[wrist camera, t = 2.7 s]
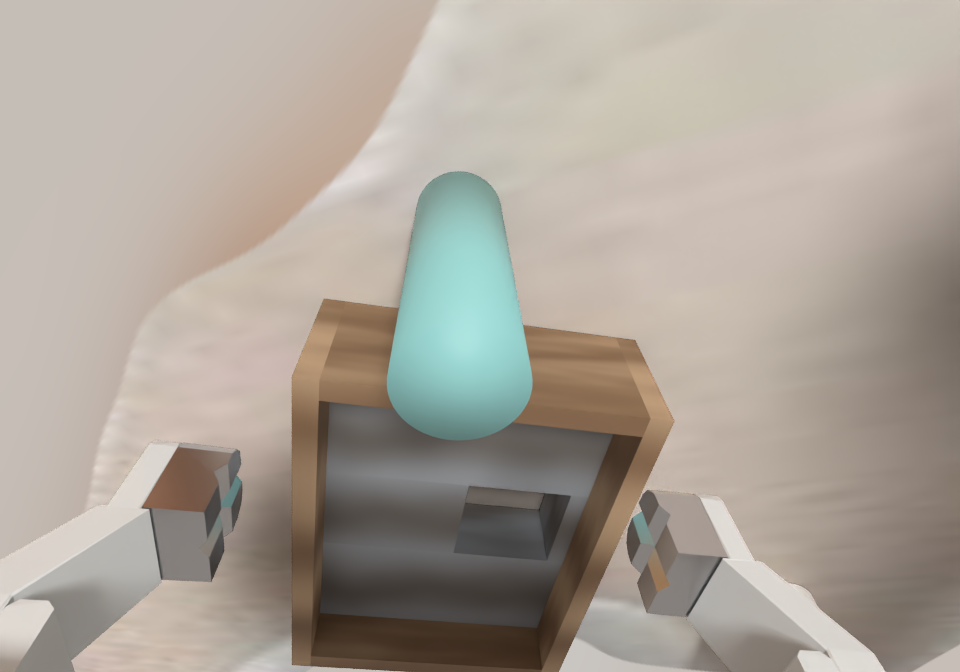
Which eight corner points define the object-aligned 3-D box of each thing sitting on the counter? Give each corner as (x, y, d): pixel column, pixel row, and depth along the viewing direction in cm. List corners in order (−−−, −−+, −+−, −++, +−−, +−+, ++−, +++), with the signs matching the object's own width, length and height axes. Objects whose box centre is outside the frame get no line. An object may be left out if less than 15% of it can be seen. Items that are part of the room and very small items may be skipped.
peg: (421, 165, 23) (393, 314, 13) (509, 179, 24) (547, 334, 13) (412, 246, 25) (380, 432, 15) (493, 258, 25) (516, 447, 15)
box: (323, 298, 26) (291, 376, 21) (635, 340, 28) (674, 421, 23) (314, 569, 37) (292, 664, 32) (542, 587, 38) (554, 680, 33)
